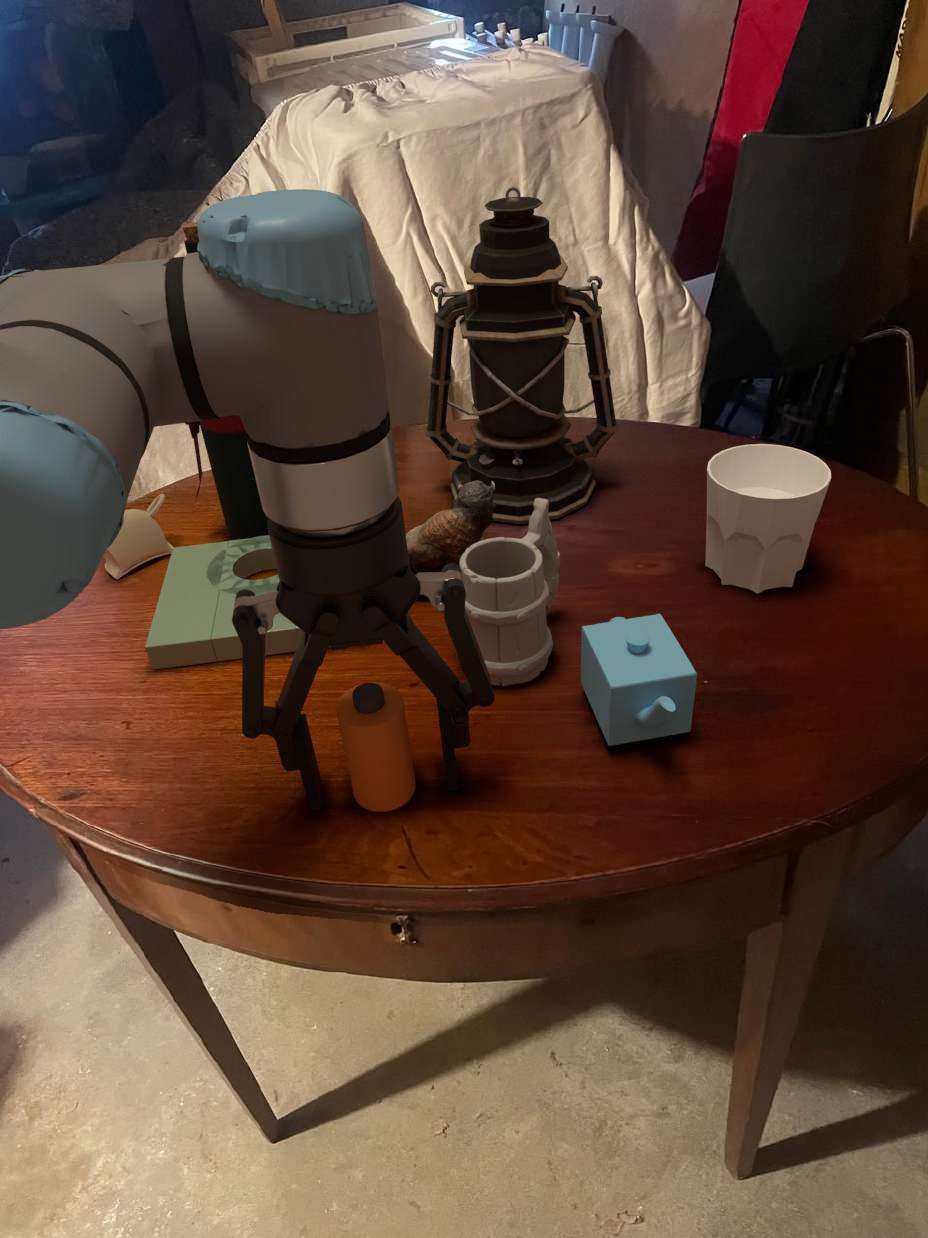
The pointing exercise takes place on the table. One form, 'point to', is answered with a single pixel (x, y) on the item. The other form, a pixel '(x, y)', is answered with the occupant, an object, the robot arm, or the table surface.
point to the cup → (762, 513)
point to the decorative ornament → (137, 540)
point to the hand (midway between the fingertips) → (383, 785)
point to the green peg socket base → (212, 604)
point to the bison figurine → (452, 529)
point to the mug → (513, 598)
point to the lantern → (520, 368)
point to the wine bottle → (229, 459)
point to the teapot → (637, 679)
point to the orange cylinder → (376, 746)
